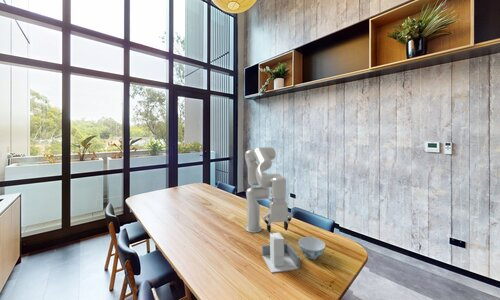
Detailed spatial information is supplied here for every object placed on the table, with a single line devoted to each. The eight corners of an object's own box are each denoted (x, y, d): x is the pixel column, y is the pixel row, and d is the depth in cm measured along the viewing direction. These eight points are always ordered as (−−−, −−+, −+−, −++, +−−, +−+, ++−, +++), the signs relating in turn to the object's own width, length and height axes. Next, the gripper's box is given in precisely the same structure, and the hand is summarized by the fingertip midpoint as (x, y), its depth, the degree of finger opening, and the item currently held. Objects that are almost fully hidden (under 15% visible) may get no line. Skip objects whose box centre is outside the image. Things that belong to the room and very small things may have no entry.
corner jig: (261, 255, 118) (262, 245, 118) (287, 251, 122) (287, 242, 122) (271, 273, 103) (271, 261, 102) (300, 268, 107) (300, 257, 106)
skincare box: (284, 266, 107) (285, 239, 106) (273, 267, 106) (274, 240, 105) (279, 257, 116) (279, 231, 115) (269, 258, 114) (269, 232, 114)
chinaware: (293, 251, 123) (293, 239, 122) (313, 247, 128) (313, 235, 127) (308, 266, 109) (308, 252, 108) (330, 260, 114) (331, 247, 113)
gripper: (265, 203, 103) (264, 235, 105) (296, 201, 107) (295, 232, 109) (260, 198, 110) (260, 228, 112) (290, 196, 115) (289, 225, 116)
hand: (277, 230), depth 110 cm, fingers open, 9 cm apart
